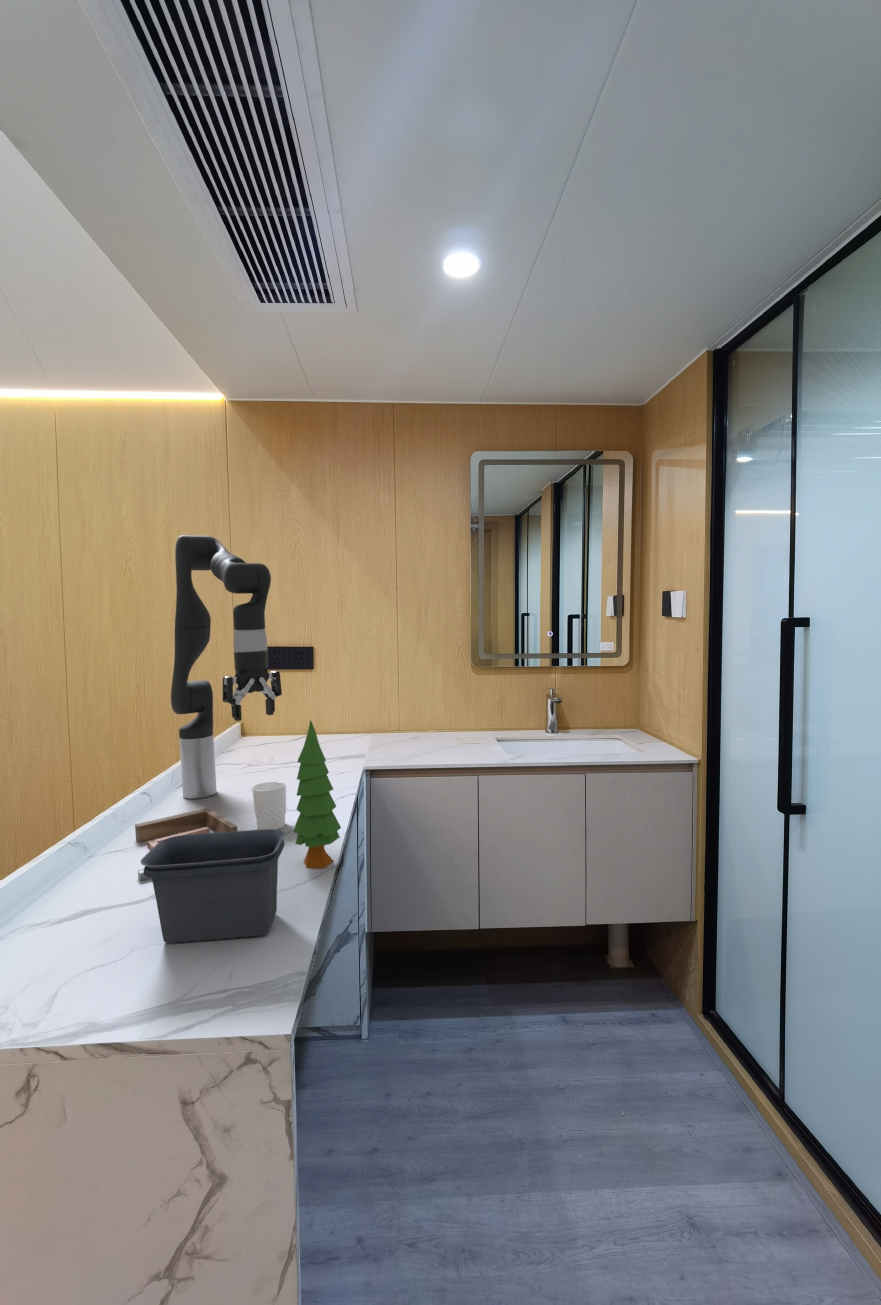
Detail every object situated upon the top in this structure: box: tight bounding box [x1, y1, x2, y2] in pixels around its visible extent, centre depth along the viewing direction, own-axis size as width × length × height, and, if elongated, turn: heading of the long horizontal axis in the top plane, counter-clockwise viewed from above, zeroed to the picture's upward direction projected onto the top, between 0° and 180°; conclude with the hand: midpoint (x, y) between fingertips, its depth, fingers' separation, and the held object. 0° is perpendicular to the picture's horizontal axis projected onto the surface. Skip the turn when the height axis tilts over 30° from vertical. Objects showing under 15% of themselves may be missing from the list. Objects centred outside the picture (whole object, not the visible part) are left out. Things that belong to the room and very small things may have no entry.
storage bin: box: [140, 829, 286, 944], centre depth 106 cm, size 21×16×14 cm
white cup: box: [252, 781, 287, 830], centre depth 155 cm, size 8×8×10 cm
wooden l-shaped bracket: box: [134, 807, 238, 843], centre depth 147 cm, size 19×17×4 cm
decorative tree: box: [293, 719, 342, 869], centre depth 130 cm, size 10×9×30 cm
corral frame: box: [146, 826, 210, 850], centre depth 143 cm, size 15×14×1 cm
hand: (254, 717), depth 149 cm, fingers open, 8 cm apart
